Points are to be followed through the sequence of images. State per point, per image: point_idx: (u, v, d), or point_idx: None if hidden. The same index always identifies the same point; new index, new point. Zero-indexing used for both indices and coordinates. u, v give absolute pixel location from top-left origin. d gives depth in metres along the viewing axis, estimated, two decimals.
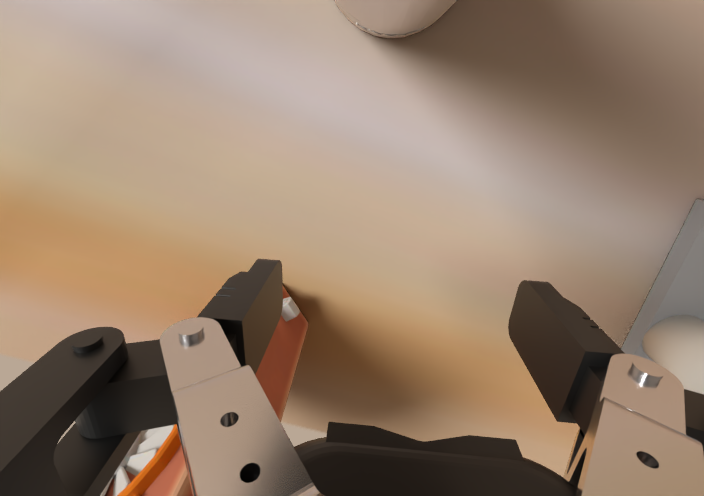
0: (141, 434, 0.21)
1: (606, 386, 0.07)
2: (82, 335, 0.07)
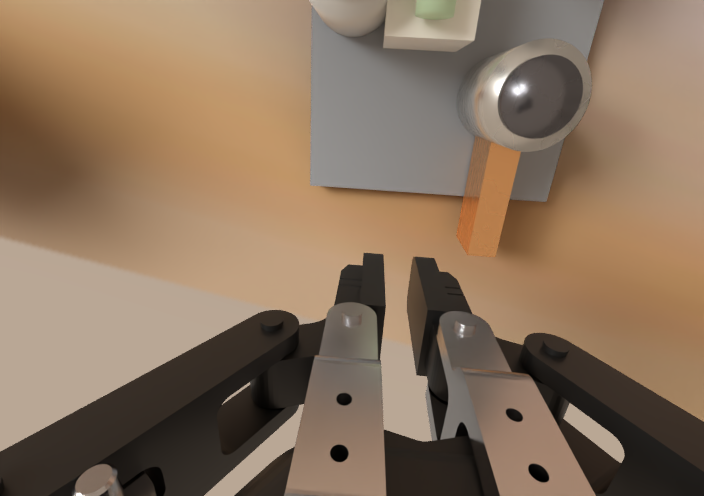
0: None
1: (449, 351, 0.07)
2: (271, 315, 0.08)
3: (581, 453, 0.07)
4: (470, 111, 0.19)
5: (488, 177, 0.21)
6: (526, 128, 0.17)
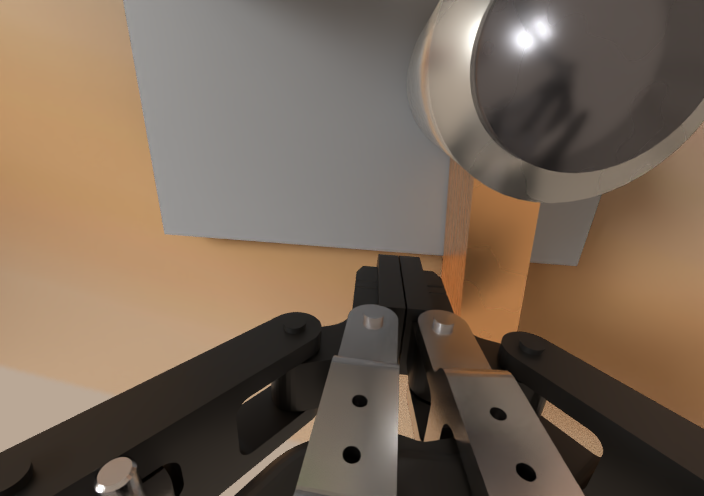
0: None
1: (429, 351, 0.07)
2: (294, 317, 0.08)
3: (559, 449, 0.08)
4: (420, 110, 0.09)
5: (476, 243, 0.10)
6: (558, 146, 0.06)
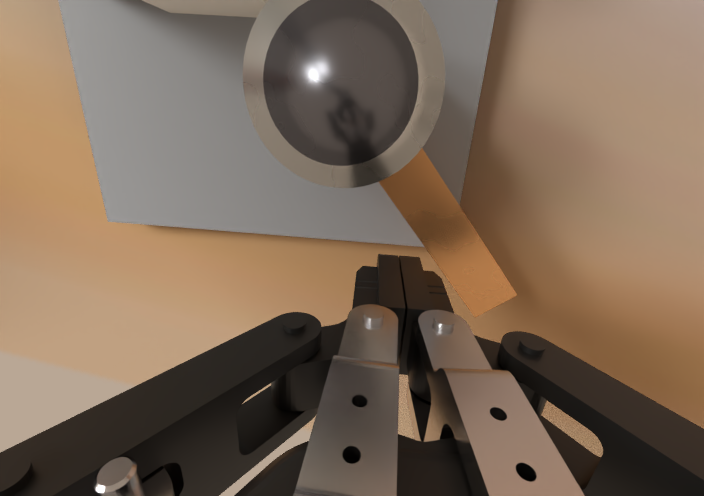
0: None
1: (429, 351, 0.07)
2: (293, 317, 0.08)
3: (559, 449, 0.08)
4: None
5: (408, 212, 0.12)
6: (361, 145, 0.08)
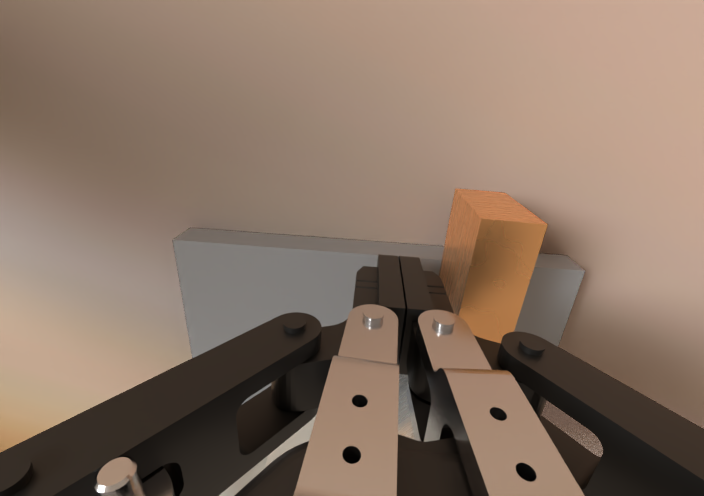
0: None
1: (429, 351, 0.07)
2: (294, 317, 0.08)
3: (559, 449, 0.08)
4: None
5: None
6: None
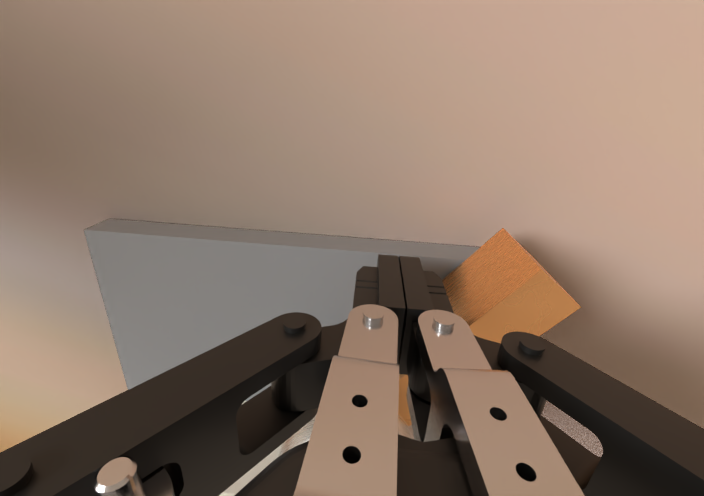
0: None
1: (429, 351, 0.07)
2: (294, 317, 0.08)
3: (560, 449, 0.08)
4: None
5: None
6: None
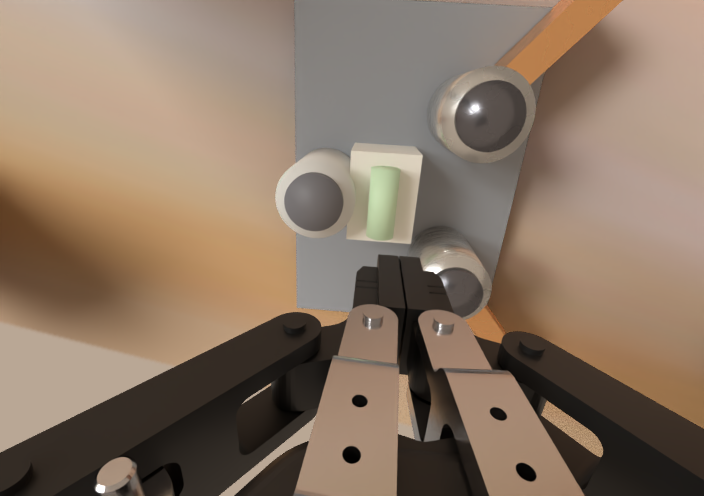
0: None
1: (429, 351, 0.07)
2: (293, 317, 0.08)
3: (559, 449, 0.08)
4: None
5: (468, 319, 0.27)
6: (460, 312, 0.23)
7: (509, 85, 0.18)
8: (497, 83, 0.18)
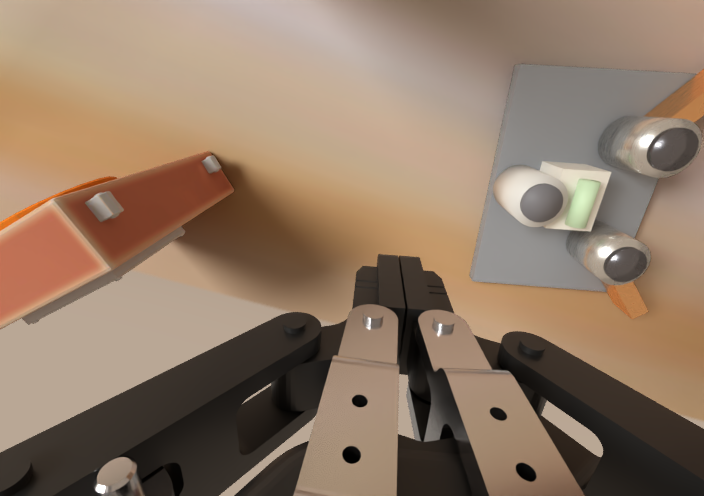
0: None
1: (429, 351, 0.07)
2: (293, 317, 0.08)
3: (560, 449, 0.08)
4: None
5: (617, 285, 0.38)
6: (628, 277, 0.34)
7: (690, 131, 0.29)
8: (682, 130, 0.29)
